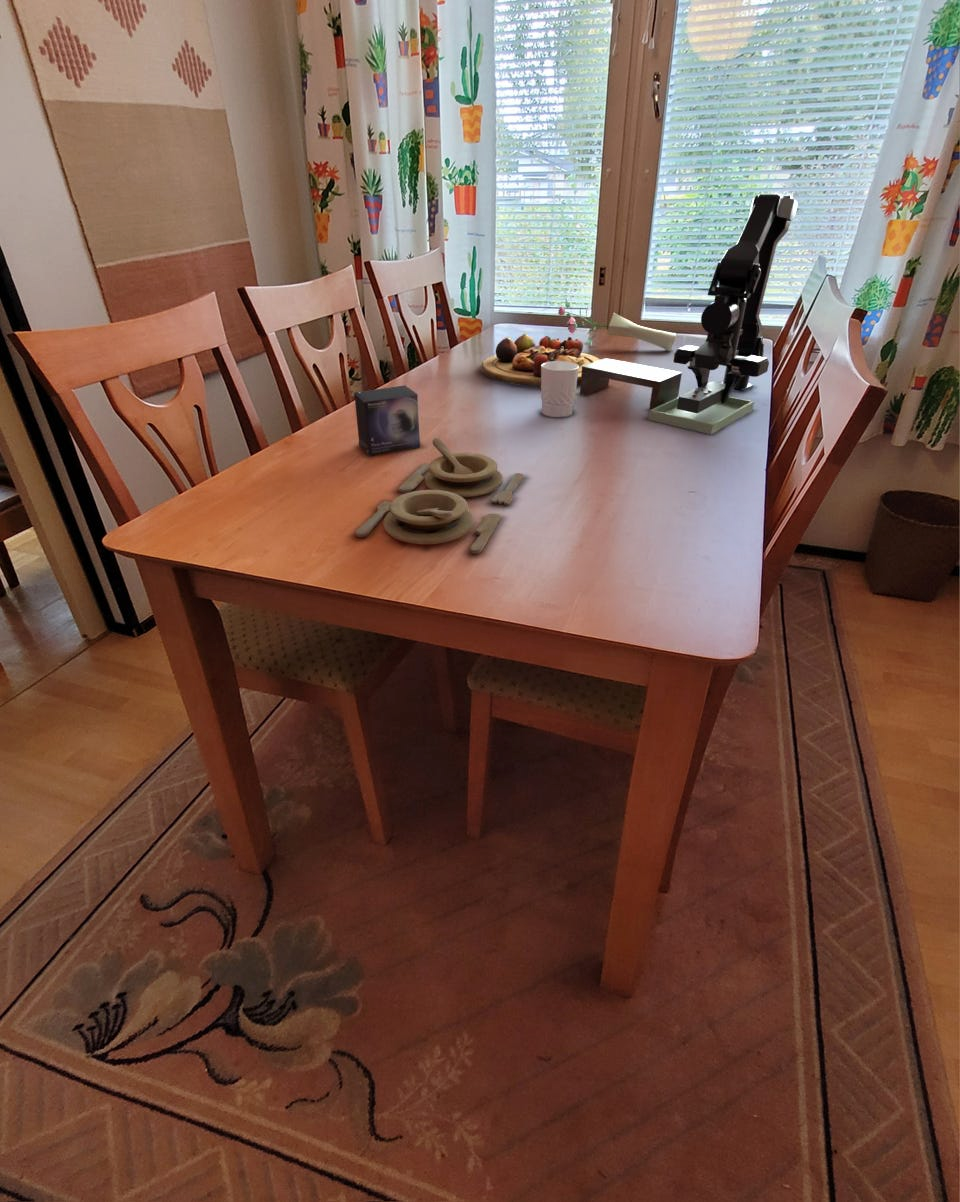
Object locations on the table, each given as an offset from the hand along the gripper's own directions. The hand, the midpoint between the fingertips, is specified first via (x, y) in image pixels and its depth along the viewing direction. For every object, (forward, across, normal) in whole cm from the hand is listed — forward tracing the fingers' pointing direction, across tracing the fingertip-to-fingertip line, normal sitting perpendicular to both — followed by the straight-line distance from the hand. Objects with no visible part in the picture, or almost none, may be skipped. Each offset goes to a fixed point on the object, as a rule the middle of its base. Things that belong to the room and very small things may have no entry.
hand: (712, 401), depth 142 cm
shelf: (+2, -18, -4) cm, 19 cm away
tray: (+2, 0, -5) cm, 5 cm away
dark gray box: (-1, 0, -5) cm, 5 cm away
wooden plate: (+2, -48, +2) cm, 48 cm away
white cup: (+2, -24, -24) cm, 34 cm away
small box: (+2, -36, -62) cm, 72 cm away
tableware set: (+2, -10, -73) cm, 73 cm away
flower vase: (+2, -48, +37) cm, 61 cm away
